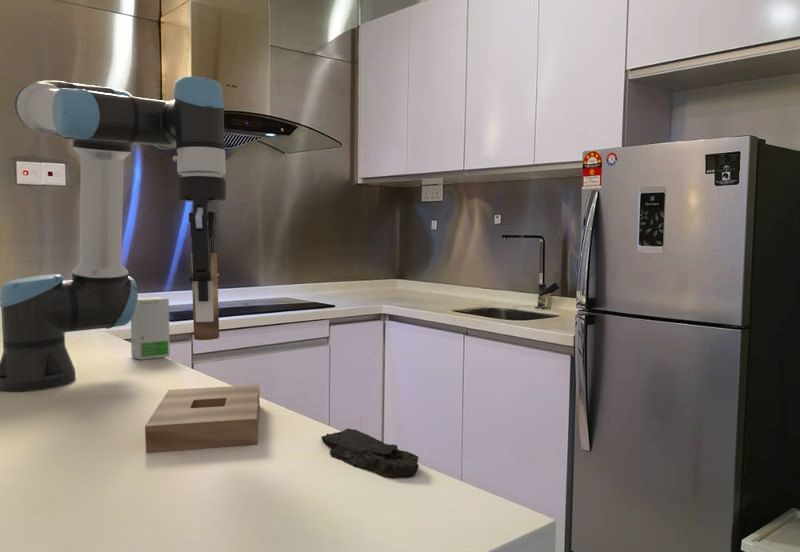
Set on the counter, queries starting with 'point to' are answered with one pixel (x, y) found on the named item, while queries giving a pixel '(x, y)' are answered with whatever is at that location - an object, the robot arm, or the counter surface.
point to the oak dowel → (212, 328)
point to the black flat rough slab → (371, 454)
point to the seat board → (204, 419)
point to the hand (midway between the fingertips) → (206, 319)
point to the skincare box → (150, 329)
